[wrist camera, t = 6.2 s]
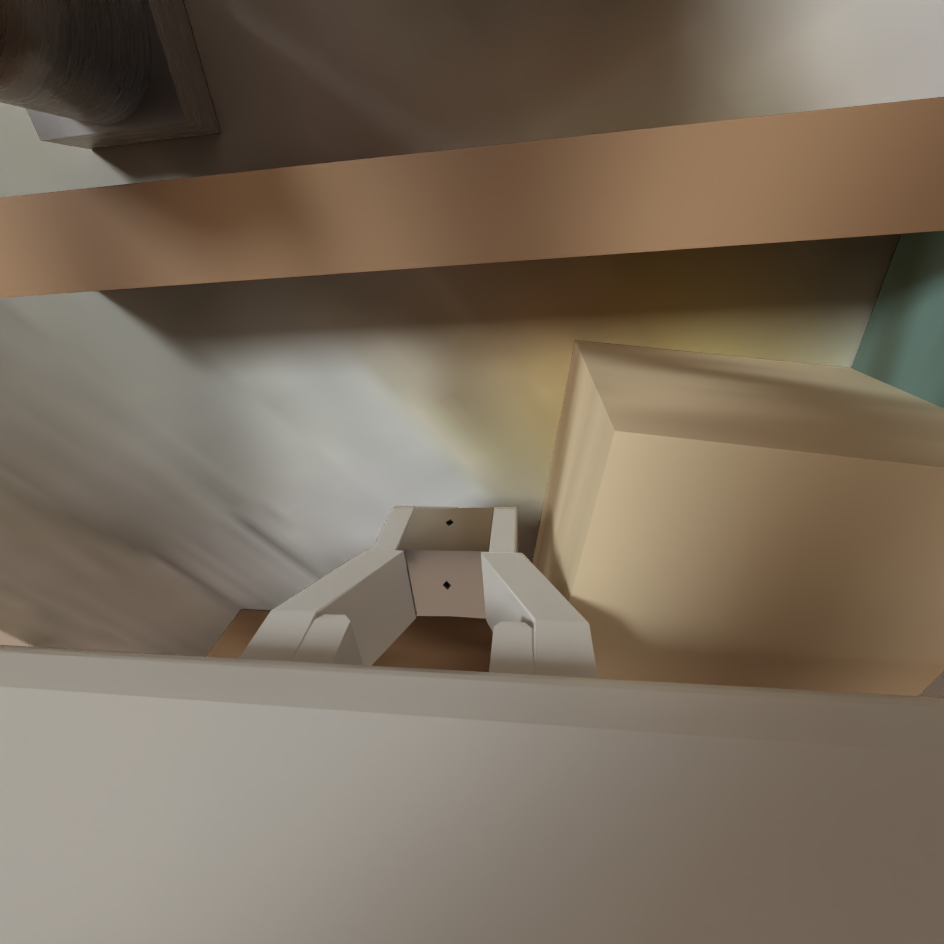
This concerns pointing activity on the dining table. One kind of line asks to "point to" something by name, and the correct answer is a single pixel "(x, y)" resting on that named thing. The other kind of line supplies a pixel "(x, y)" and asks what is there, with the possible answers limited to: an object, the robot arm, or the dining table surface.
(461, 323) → the dining table surface
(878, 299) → the bay
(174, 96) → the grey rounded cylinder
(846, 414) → the tan tapered block
